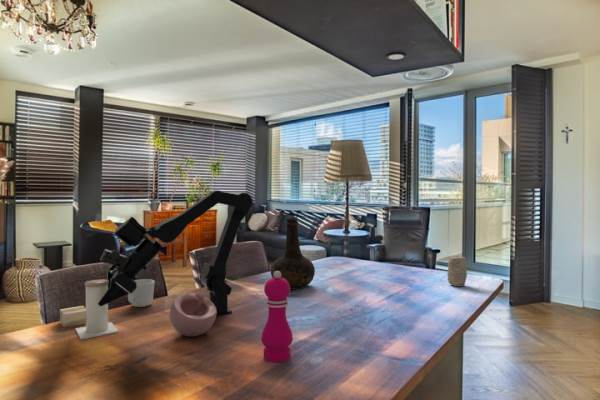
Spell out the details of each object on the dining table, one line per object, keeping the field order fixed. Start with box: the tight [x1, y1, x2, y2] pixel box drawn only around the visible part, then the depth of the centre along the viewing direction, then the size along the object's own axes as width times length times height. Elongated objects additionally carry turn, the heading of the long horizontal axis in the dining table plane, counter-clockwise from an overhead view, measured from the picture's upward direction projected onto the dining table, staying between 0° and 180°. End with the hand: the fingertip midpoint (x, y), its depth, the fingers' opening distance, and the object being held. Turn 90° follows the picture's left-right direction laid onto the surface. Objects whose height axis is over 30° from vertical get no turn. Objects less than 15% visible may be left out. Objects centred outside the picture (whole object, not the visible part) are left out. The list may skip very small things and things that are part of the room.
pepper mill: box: [261, 271, 294, 363], centre depth 89 cm, size 7×7×20 cm
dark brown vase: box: [270, 217, 316, 290], centre depth 157 cm, size 18×18×28 cm
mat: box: [75, 321, 119, 341], centre depth 106 cm, size 9×9×1 cm
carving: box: [447, 255, 468, 287], centre depth 160 cm, size 6×8×12 cm
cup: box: [127, 278, 156, 308], centre depth 129 cm, size 11×8×8 cm
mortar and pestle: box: [169, 292, 217, 337], centre depth 103 cm, size 12×12×12 cm
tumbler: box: [84, 278, 109, 333], centre depth 106 cm, size 6×6×13 cm
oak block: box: [59, 305, 86, 329], centre depth 112 cm, size 6×6×4 cm
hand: (98, 300), depth 106 cm, fingers open, 9 cm apart
